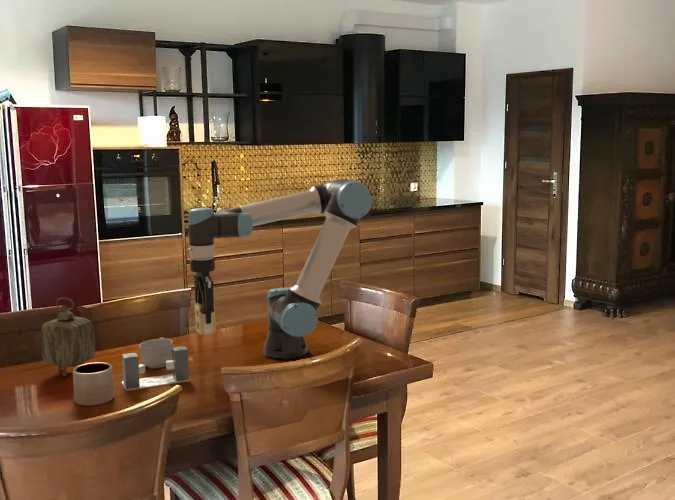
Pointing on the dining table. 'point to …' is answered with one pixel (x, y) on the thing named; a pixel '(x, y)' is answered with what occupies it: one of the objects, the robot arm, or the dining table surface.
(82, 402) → the planter
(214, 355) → the dining table surface
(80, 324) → the weathered metal cowbell
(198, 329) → the block
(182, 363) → the stand
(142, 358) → the teacup
